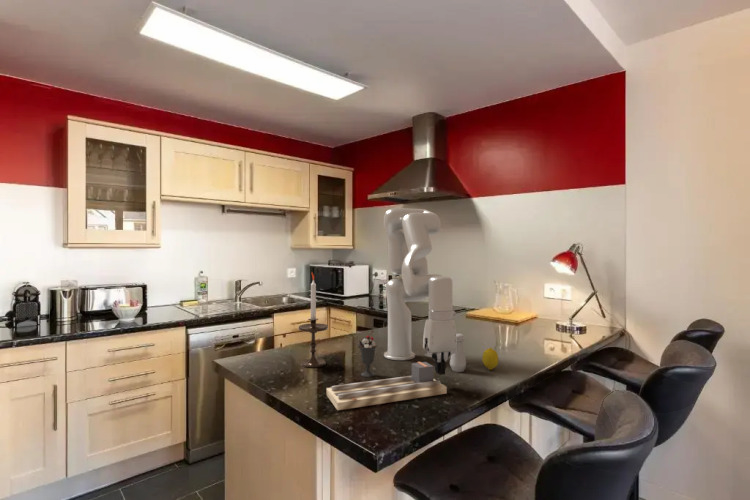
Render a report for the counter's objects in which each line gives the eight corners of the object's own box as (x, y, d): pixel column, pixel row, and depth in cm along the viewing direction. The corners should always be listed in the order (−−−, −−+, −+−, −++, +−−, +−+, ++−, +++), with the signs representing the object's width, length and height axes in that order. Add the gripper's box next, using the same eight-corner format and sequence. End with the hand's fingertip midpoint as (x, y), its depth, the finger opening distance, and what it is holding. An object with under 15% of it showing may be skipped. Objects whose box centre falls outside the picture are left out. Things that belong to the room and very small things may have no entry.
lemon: (499, 372, 135) (499, 350, 135) (482, 371, 136) (483, 349, 137) (497, 368, 141) (497, 346, 141) (481, 367, 142) (481, 345, 142)
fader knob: (419, 384, 116) (419, 366, 116) (411, 379, 121) (411, 362, 121) (433, 382, 118) (433, 365, 118) (425, 377, 123) (425, 360, 123)
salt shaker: (448, 367, 141) (448, 332, 141) (463, 367, 142) (463, 332, 142) (452, 373, 135) (452, 336, 135) (468, 372, 136) (468, 335, 136)
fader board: (337, 410, 103) (337, 398, 103) (326, 394, 114) (326, 384, 115) (446, 393, 116) (446, 382, 116) (427, 380, 127) (427, 371, 127)
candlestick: (293, 363, 146) (293, 271, 146) (317, 358, 153) (317, 270, 153) (308, 370, 138) (308, 272, 138) (333, 364, 145) (333, 271, 145)
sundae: (380, 372, 135) (380, 330, 135) (373, 378, 129) (373, 334, 129) (362, 370, 137) (362, 328, 137) (355, 376, 131) (355, 332, 131)
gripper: (453, 312, 128) (453, 367, 128) (413, 315, 123) (413, 372, 123) (467, 315, 121) (467, 374, 121) (425, 319, 116) (425, 380, 116)
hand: (440, 373), depth 122 cm, fingers closed
